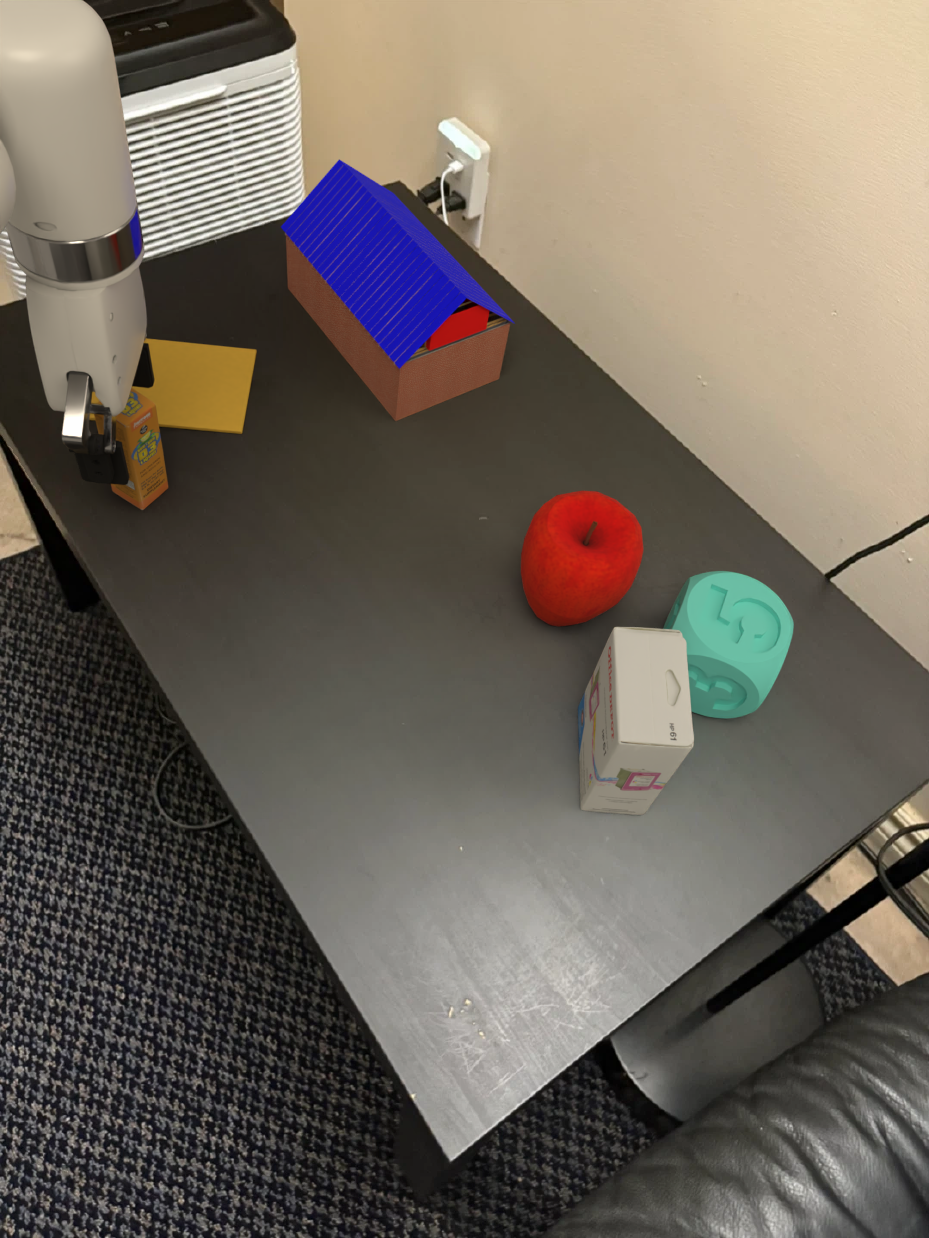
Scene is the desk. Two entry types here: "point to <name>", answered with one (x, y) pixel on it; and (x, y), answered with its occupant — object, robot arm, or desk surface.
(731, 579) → the decorative dice
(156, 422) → the supplement box
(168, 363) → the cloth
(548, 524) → the apple
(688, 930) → the desk surface
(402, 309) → the house
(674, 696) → the ink box
